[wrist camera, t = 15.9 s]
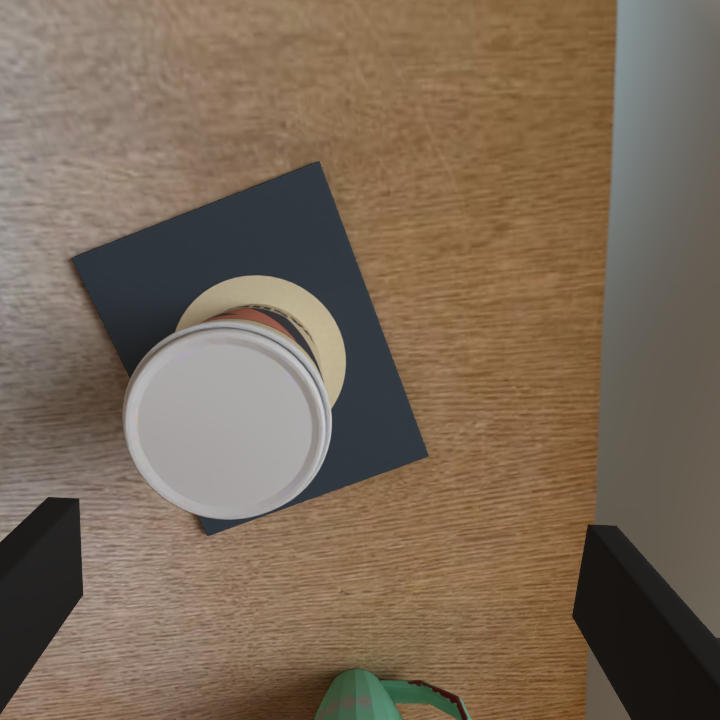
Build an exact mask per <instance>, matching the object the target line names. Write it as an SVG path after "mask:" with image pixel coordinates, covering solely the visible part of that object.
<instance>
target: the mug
mask: <svg viewBox="0 0 720 720" xmlns="http://www.w3.org/2000/svg"><path fill="white" fill-rule="evenodd" d="M394 703H429V704H431V705H433V706H435V707H436V708H438V709H440V710H442V711H444V712H446V713H447V714H449V715H451V716H453V717H455V718H456V719H458V720H471V718H470V716H469V714H468V712H467V710H466V707H465V705H464V703H463V701H462V699H461V698H460V697H458V696H456V695H454V694H452V693H449V692H447V691H445V690H443V689H440V688H438V687H436V686H434V685H431V684H429V683H427V682H425V681H422V680H379V679H378V678H377V677H376V676H375V675H374V674H372V673H371V672H369V671H366V670H363V669H352V670H347V671H345V672H343V673H341V674H339V675H338V676H337V677H336V678H335V679H334V680H333V682H332V684H331V686H330V687H329V689H328V691H327V693H326V695H325V697H324V698H323V700H322V702H321V704H320V706H319V709H318V711H317V713H316V716H315V718H314V720H403V719H402V717H401V715H400V713H399V712H398V710H397V708H396V706H395V704H394Z"/></svg>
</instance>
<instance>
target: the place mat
mask: <svg viewBox="0 0 720 720" xmlns="http://www.w3.org/2000/svg"><path fill="white" fill-rule="evenodd" d="M72 261H73V263H74V265H75V267H76V269H77V271H78V273H79V275H80V277H81V279H82V281H83V283H84V285H85V287H86V289H87V291H88V293H89V295H90V297H91V299H92V301H93V303H94V306H95V308H96V310H97V312H98V314H99V316H100V318H101V320H102V322H103V324H104V326H105V328H106V330H107V332H108V334H109V336H110V338H111V340H112V342H113V344H114V346H115V348H116V350H117V352H118V355H119V357H120V359H121V361H122V363H123V365H124V367H125V369H126V371H127V373H128V375H129V377H130V379H131V376H132V374H133V373H134V371H135V369H136V367H137V366H138V364H139V363H140V362H141V360H142V359H143V358H144V356H145V355H146V354H147V353H148V352H149V351H150V350H151V349H152V348H153V347H154V346H155V345H157V344H158V343H159V342H160V341H161V340H163V339H165V338H166V337H168V336H169V335H171V334H173V333H175V332H177V331H179V330H181V329H183V328H186V327H189V326H191V325H195V324H198V323H200V322H202V321H204V320H207V319H209V318H211V317H213V316H215V315H217V314H220V313H222V312H224V311H226V310H229V309H231V308H234V307H237V306H241V305H246V304H267V305H272V306H275V307H279V308H281V309H284V310H286V311H288V312H290V313H291V314H293V315H294V316H296V317H297V318H298V319H299V320H300V321H302V322H303V324H304V325H305V326H306V327H307V328H308V330H309V331H310V332H311V334H312V336H313V338H314V340H315V342H316V344H317V347H318V350H319V354H320V359H321V364H322V370H323V376H324V382H325V388H326V391H327V394H328V397H329V402H330V406H331V414H332V431H331V439H330V443H329V447H328V451H327V453H326V456H325V459H324V461H323V463H322V465H321V467H320V469H319V471H318V472H317V474H316V475H315V477H314V478H313V480H312V481H311V482H310V483H309V485H308V486H307V487H306V488H305V489H304V490H303V491H302V492H301V493H300V494H298V495H297V496H296V497H295V498H293V499H292V500H291V501H289V502H287V503H286V504H284V505H282V506H280V507H278V508H276V509H274V510H272V511H269V512H266V513H264V514H260V515H257V516H254V517H250V518H243V519H232V520H225V519H214V518H207V517H203V516H199V515H197V516H198V518H199V520H200V522H201V524H202V526H203V528H204V530H205V532H206V534H207V536H209V535H212V534H215V533H218V532H220V531H223V530H226V529H229V528H231V527H234V526H237V525H240V524H243V523H245V522H248V521H251V520H254V519H256V518H259V517H262V516H265V515H267V514H270V513H273V512H276V511H279V510H281V509H284V508H287V507H290V506H292V505H295V504H298V503H301V502H304V501H306V500H309V499H312V498H315V497H317V496H320V495H323V494H326V493H328V492H331V491H334V490H337V489H340V488H342V487H345V486H348V485H351V484H353V483H356V482H359V481H362V480H364V479H367V478H370V477H373V476H376V475H378V474H381V473H384V472H387V471H389V470H392V469H395V468H398V467H400V466H403V465H406V464H409V463H412V462H414V461H417V460H420V459H423V458H425V457H428V456H429V455H428V453H427V450H426V447H425V445H424V442H423V439H422V437H421V434H420V431H419V429H418V426H417V423H416V420H415V418H414V415H413V412H412V410H411V407H410V404H409V402H408V399H407V396H406V394H405V391H404V388H403V385H402V383H401V380H400V377H399V375H398V372H397V369H396V367H395V364H394V361H393V359H392V356H391V353H390V350H389V348H388V345H387V342H386V340H385V337H384V334H383V332H382V329H381V326H380V324H379V321H378V318H377V315H376V313H375V310H374V307H373V305H372V302H371V299H370V297H369V294H368V291H367V289H366V286H365V283H364V280H363V278H362V275H361V272H360V270H359V267H358V264H357V262H356V259H355V256H354V253H353V251H352V248H351V245H350V243H349V240H348V237H347V235H346V232H345V229H344V227H343V224H342V221H341V218H340V216H339V213H338V210H337V208H336V205H335V202H334V200H333V197H332V194H331V192H330V189H329V186H328V183H327V181H326V178H325V175H324V173H323V170H322V167H321V165H320V162H319V161H318V162H316V163H313V164H310V165H308V166H305V167H303V168H300V169H298V170H295V171H293V172H290V173H287V174H285V175H282V176H280V177H277V178H275V179H272V180H269V181H267V182H264V183H262V184H259V185H257V186H254V187H252V188H249V189H246V190H244V191H241V192H239V193H236V194H234V195H231V196H229V197H226V198H223V199H221V200H218V201H216V202H213V203H211V204H208V205H206V206H203V207H200V208H198V209H195V210H193V211H190V212H188V213H185V214H183V215H180V216H177V217H175V218H172V219H170V220H167V221H165V222H162V223H160V224H157V225H154V226H152V227H149V228H147V229H144V230H142V231H139V232H137V233H134V234H131V235H129V236H126V237H124V238H121V239H119V240H116V241H114V242H111V243H108V244H106V245H103V246H101V247H98V248H96V249H93V250H90V251H88V252H85V253H83V254H80V255H78V256H75V257H73V258H72Z"/></svg>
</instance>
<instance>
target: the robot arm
mask: <svg viewBox="0 0 720 720" xmlns="http://www.w3.org/2000/svg"><path fill="white" fill-rule="evenodd" d="M82 596H83V581H82V557H81V534H80V510H79V499H75V498H55V497H48V498H47V499H46V500H45V501H44V502H43V503H41V504H40V505H39V506H38V507H37V508H36V509H35V510H34V511H33V512H32V513H31V514H30V515H29V516H28V517H27V518H26V519H24V520H23V521H22V522H21V523H20V524H19V525H18V526H17V527H16V528H15V529H14V530H13V531H12V532H11V533H10V534H9V535H7V536H6V537H5V538H4V539H3V540H2V541H1V542H0V714H1V712H2V711H3V709H4V708H5V707H6V705H7V704H8V702H9V701H10V699H11V698H12V696H13V695H14V694H15V692H16V691H17V689H18V688H19V686H20V685H21V683H22V682H23V681H24V679H25V678H26V676H27V675H28V673H29V672H30V670H31V669H32V668H33V666H34V665H35V663H36V662H37V660H38V659H39V658H40V656H41V655H42V653H43V652H44V650H45V649H46V647H47V646H48V645H49V643H50V642H51V640H52V639H53V637H54V636H55V634H56V633H57V632H58V630H59V629H60V627H61V626H62V624H63V623H64V621H65V620H66V619H67V617H68V616H69V614H70V613H71V611H72V610H73V608H74V607H75V606H76V604H77V603H78V601H79V600H80V598H81V597H82ZM572 617H573V619H574V620H575V622H576V624H577V626H578V627H579V629H580V631H581V633H582V634H583V636H584V638H585V639H586V641H587V643H588V645H589V646H590V648H591V650H592V652H593V653H594V655H595V657H596V659H597V660H598V662H599V664H600V666H601V667H602V669H603V671H604V672H605V674H606V676H607V678H608V680H609V681H610V683H611V685H612V687H613V688H614V690H615V692H616V694H617V695H618V697H619V699H620V701H621V702H622V704H623V706H624V707H625V709H626V711H627V713H628V714H629V716H630V718H631V720H720V638H715V636H714V635H713V634H712V633H711V632H710V631H709V630H708V629H707V627H706V626H705V625H704V624H703V623H702V622H701V621H700V620H699V618H698V617H697V616H696V615H695V614H694V613H693V612H692V610H691V609H690V608H689V607H688V606H687V605H686V604H685V603H684V601H683V600H682V599H681V598H680V597H679V596H678V595H677V594H676V592H675V591H674V590H673V589H672V588H671V587H670V586H669V584H668V583H667V582H666V581H665V580H664V579H663V578H662V577H661V575H660V574H659V573H658V572H657V571H656V570H655V569H654V568H653V567H652V565H651V564H650V563H649V562H648V561H647V560H646V559H645V558H644V556H643V555H642V554H641V553H640V552H639V551H638V550H637V548H636V547H635V546H634V545H633V544H632V543H631V542H630V541H629V539H628V538H627V537H626V536H625V535H624V534H623V533H622V531H621V530H620V529H619V528H618V527H617V526H608V525H588V527H587V533H586V539H585V545H584V551H583V556H582V562H581V568H580V574H579V580H578V586H577V591H576V597H575V603H574V609H573V615H572Z"/></svg>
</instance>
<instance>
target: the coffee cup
mask: <svg viewBox="0 0 720 720" xmlns="http://www.w3.org/2000/svg"><path fill="white" fill-rule="evenodd" d="M122 423H123V432H124V437H125V441H126V444H127V448H128V450H129V454H130V456H131V458H132V460H133V462H134V464H135V466H136V468H137V470H138V472H139V473H140V474H141V476H142V477H143V478H144V480H145V481H146V482H147V483H148V484H149V486H150V487H151V488H152V489H153V490H154V491H156V492H157V493H158V494H159V495H160V496H161V497H163V498H164V499H165V500H167V501H168V502H170V503H171V504H173V505H175V506H176V507H178V508H181V509H183V510H185V511H187V512H190V513H193V514H196V515H199V516H203V517H207V518H214V519H225V520H232V519H243V518H250V517H254V516H257V515H260V514H264V513H266V512H269V511H272V510H274V509H276V508H278V507H280V506H282V505H284V504H286V503H287V502H289V501H291V500H292V499H293V498H295V497H296V496H297V495H298V494H300V493H301V492H302V491H303V490H304V489H305V488H306V487H307V486H308V485H309V483H310V482H311V481H312V480H313V478H314V477H315V475H316V474H317V472H318V471H319V469H320V467H321V465H322V463H323V461H324V459H325V456H326V453H327V451H328V447H329V443H330V439H331V431H332V414H331V406H330V402H329V397H328V394H327V391H326V388H325V382H324V376H323V370H322V364H321V359H320V354H319V350H318V347H317V344H316V342H315V340H314V338H313V336H312V334H311V332H310V331H309V330H308V328H307V327H306V326H305V325H304V324H303V322H302V321H300V320H299V319H298V318H297V317H296V316H294V315H293V314H291V313H290V312H288V311H286V310H284V309H281V308H279V307H275V306H272V305H267V304H246V305H241V306H237V307H234V308H231V309H229V310H226V311H224V312H222V313H220V314H217V315H215V316H213V317H211V318H209V319H207V320H204V321H202V322H200V323H198V324H195V325H191V326H189V327H186V328H183V329H181V330H179V331H177V332H175V333H173V334H171V335H169V336H168V337H166V338H165V339H163V340H161V341H160V342H159V343H158V344H157V345H155V346H154V347H153V348H152V349H151V350H150V351H149V352H148V353H147V354H146V355H145V356H144V358H143V359H142V360H141V362H140V363H139V364H138V366H137V367H136V369H135V371H134V373H133V374H132V376H131V379H130V381H129V383H128V386H127V389H126V393H125V396H124V402H123V410H122Z"/></svg>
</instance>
